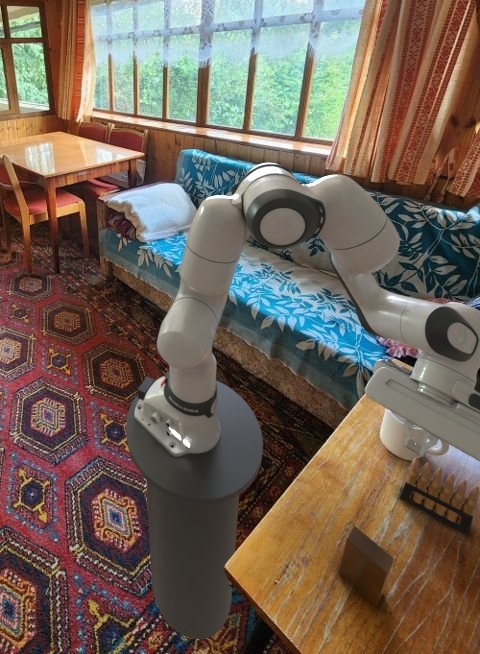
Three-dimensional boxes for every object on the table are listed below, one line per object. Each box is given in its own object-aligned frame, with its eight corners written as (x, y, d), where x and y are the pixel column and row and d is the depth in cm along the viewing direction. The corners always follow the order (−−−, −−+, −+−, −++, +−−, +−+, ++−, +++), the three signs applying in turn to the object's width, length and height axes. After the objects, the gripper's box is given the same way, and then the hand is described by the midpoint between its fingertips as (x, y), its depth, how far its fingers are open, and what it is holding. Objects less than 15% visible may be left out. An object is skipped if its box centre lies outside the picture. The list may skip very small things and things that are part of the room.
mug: (443, 451, 85) (454, 419, 82) (442, 480, 80) (454, 447, 76) (381, 422, 93) (389, 391, 89) (376, 447, 87) (384, 415, 84)
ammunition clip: (467, 526, 72) (484, 485, 68) (467, 535, 70) (485, 493, 66) (399, 490, 78) (411, 451, 74) (399, 498, 77) (411, 458, 73)
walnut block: (338, 572, 67) (346, 538, 63) (345, 559, 68) (354, 525, 65) (376, 608, 62) (387, 573, 59) (382, 592, 64) (393, 558, 60)
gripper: (376, 351, 77) (349, 412, 75) (515, 417, 62) (486, 497, 59) (381, 357, 81) (355, 416, 79) (512, 421, 66) (484, 496, 63)
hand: (412, 451), depth 69 cm, fingers closed
